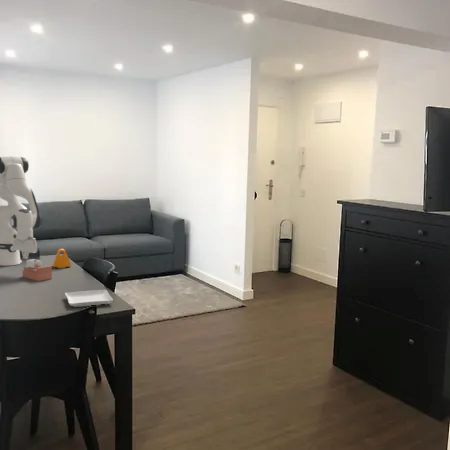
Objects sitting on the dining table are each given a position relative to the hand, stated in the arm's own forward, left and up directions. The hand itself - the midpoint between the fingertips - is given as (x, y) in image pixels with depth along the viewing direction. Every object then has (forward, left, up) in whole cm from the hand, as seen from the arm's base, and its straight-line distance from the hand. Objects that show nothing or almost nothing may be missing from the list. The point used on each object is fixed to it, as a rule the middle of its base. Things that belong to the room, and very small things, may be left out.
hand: (25, 258), depth 303 cm
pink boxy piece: (+12, 0, -10) cm, 15 cm away
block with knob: (+9, 0, -6) cm, 10 cm away
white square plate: (+74, -11, -10) cm, 76 cm away
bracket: (-5, +29, -10) cm, 31 cm away
